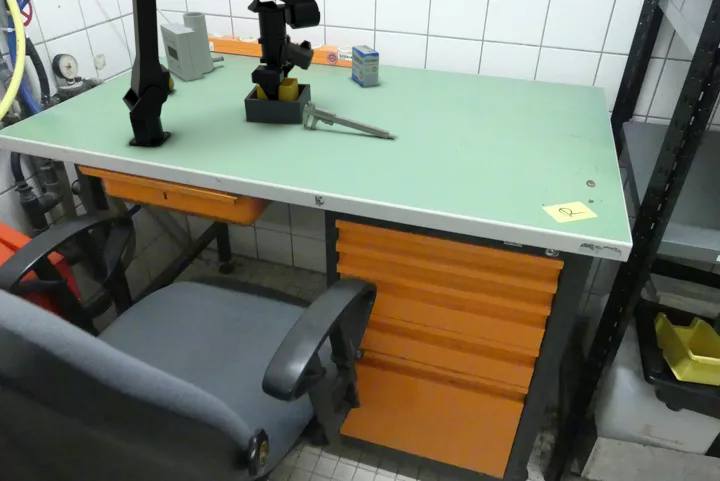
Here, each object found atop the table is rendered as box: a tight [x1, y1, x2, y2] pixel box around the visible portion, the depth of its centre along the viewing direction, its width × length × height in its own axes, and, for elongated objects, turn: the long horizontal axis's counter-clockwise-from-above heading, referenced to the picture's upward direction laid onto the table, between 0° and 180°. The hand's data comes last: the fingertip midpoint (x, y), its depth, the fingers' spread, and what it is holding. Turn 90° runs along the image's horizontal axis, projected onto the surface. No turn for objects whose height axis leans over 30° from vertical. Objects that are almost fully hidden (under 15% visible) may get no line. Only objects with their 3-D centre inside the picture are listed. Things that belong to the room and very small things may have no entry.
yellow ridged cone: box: [167, 69, 175, 94], centre depth 133 cm, size 5×5×10 cm
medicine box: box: [351, 44, 380, 88], centre depth 141 cm, size 8×4×9 cm, turn 25°
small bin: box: [255, 77, 299, 101], centre depth 122 cm, size 6×8×6 cm
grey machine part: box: [159, 11, 225, 82], centre depth 145 cm, size 12×14×15 cm
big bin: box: [243, 83, 312, 125], centre depth 123 cm, size 12×13×5 cm
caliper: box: [302, 100, 395, 140], centre depth 114 cm, size 20×1×6 cm, turn 75°
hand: (278, 101), depth 123 cm, fingers closed on small bin, 6 cm apart
